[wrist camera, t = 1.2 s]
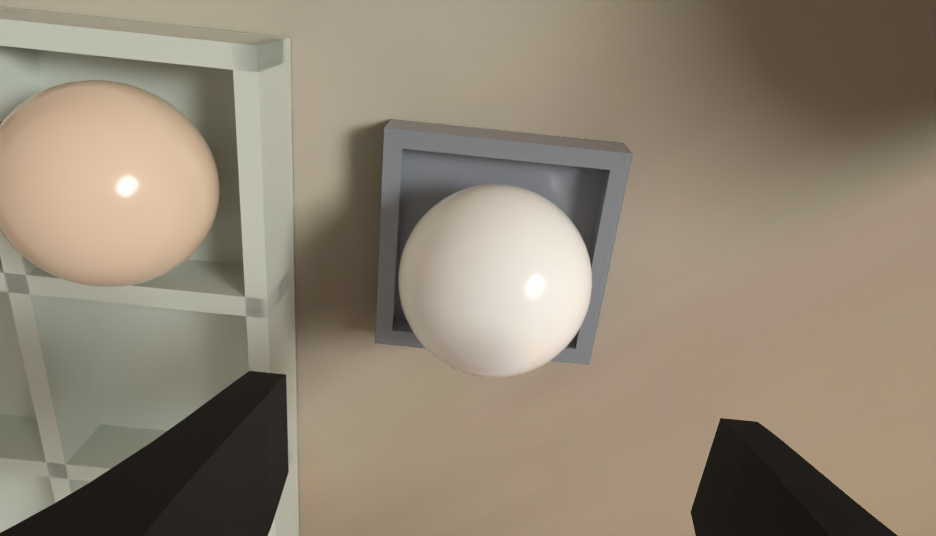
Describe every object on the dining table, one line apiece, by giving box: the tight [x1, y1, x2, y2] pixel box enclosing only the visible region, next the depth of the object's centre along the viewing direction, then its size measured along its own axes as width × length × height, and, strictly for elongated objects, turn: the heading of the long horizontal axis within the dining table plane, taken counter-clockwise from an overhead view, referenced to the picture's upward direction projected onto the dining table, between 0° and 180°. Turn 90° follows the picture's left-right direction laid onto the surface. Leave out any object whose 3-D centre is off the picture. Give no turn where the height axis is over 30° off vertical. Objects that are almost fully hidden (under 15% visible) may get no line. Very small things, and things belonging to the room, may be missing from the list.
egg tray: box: [0, 7, 299, 536], centre depth 20 cm, size 20×14×3 cm
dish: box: [375, 119, 632, 365], centre depth 19 cm, size 7×7×1 cm
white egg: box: [398, 184, 592, 378], centre depth 17 cm, size 5×5×5 cm
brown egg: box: [0, 80, 220, 287], centre depth 16 cm, size 5×5×5 cm
